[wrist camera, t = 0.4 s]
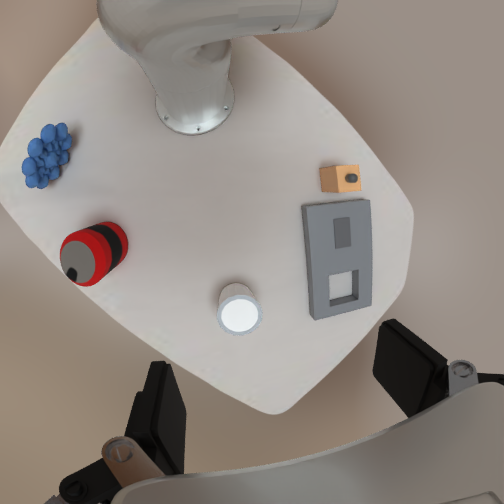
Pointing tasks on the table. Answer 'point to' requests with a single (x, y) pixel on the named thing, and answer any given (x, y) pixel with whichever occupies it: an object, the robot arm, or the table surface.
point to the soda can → (93, 252)
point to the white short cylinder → (238, 310)
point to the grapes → (46, 155)
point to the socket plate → (338, 254)
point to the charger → (340, 178)
